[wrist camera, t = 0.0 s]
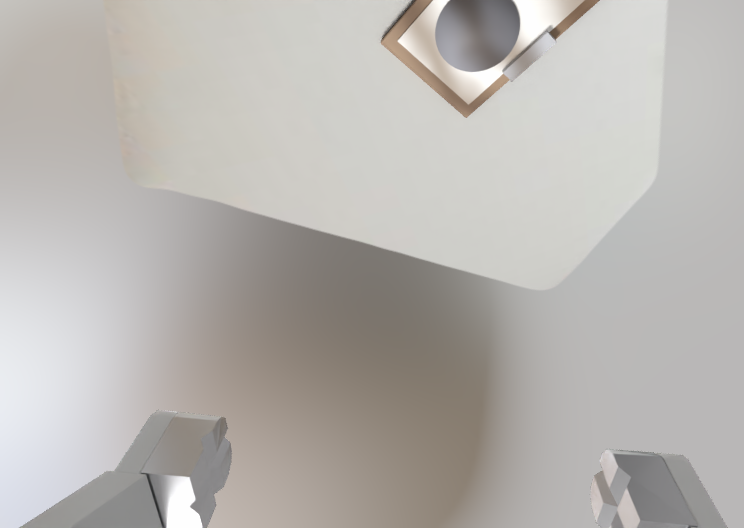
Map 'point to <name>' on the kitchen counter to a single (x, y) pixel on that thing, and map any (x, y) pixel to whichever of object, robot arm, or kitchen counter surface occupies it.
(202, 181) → the kitchen counter surface
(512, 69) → the clipboard
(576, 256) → the kitchen counter surface
